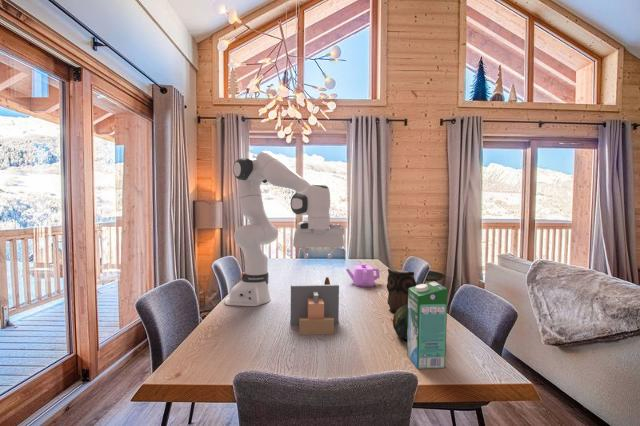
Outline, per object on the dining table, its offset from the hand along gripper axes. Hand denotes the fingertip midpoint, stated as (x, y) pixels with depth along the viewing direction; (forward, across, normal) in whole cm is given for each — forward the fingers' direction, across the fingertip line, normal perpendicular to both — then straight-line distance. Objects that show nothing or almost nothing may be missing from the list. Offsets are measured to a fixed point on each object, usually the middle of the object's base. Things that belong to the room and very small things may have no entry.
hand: (318, 258), depth 128 cm
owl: (+28, -42, -15) cm, 53 cm away
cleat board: (+28, +1, -1) cm, 28 cm away
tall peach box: (+25, +1, +1) cm, 25 cm away
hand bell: (+28, -6, -18) cm, 34 cm away
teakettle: (+28, -34, -66) cm, 80 cm away
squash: (+28, -36, +13) cm, 47 cm away
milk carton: (+28, -33, +30) cm, 52 cm away
